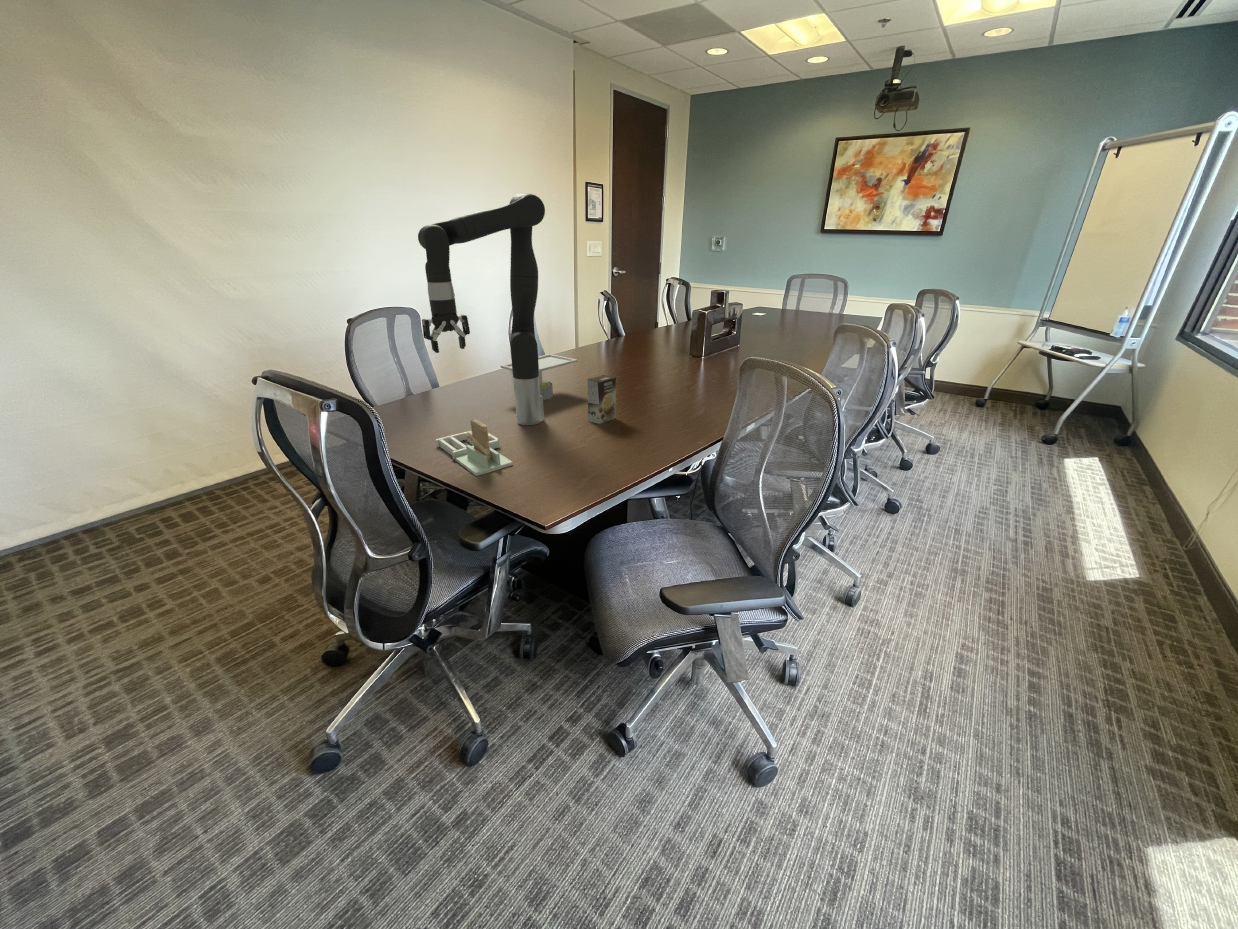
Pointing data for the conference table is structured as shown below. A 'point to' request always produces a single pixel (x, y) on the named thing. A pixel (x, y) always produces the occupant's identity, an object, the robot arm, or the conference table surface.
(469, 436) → the offcut stack
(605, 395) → the coffee box
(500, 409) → the conference table surface
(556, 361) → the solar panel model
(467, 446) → the stand
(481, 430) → the wooden board
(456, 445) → the rack
